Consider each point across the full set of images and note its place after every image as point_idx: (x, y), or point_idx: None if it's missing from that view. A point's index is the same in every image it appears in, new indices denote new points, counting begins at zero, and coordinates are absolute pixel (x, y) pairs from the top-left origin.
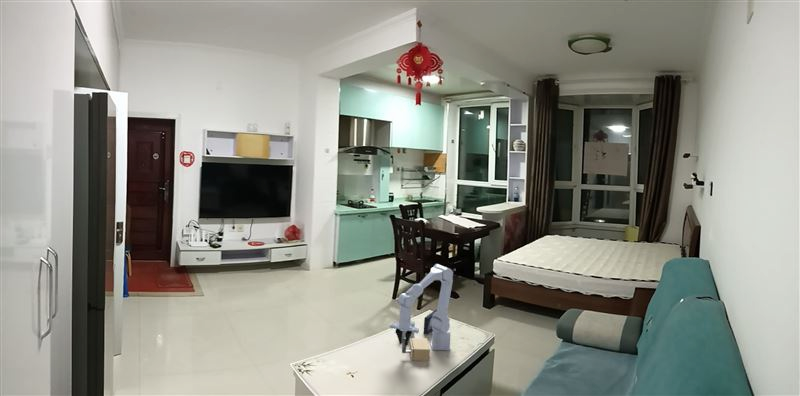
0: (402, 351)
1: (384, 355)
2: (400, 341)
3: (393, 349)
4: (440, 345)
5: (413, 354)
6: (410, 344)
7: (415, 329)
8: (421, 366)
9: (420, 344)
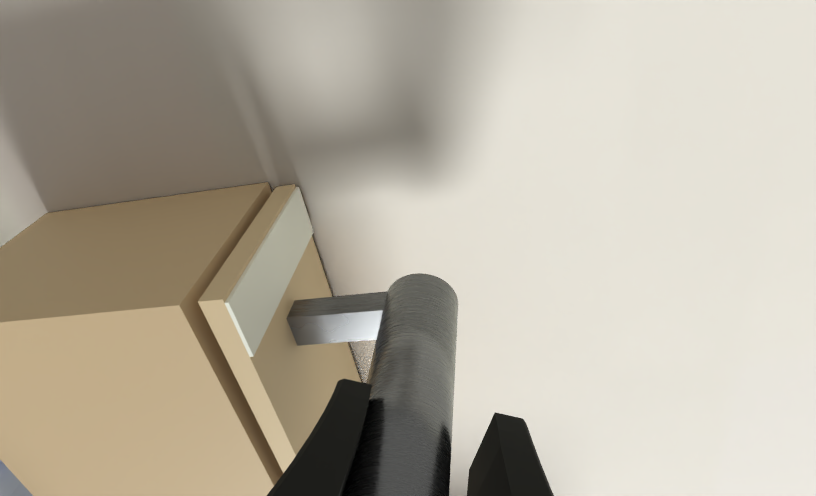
0: (446, 298)
1: (749, 266)
2: (502, 479)
3: (588, 415)
4: (6, 490)
5: (233, 243)
6: None
7: None
8: (86, 27)
9: (128, 458)
